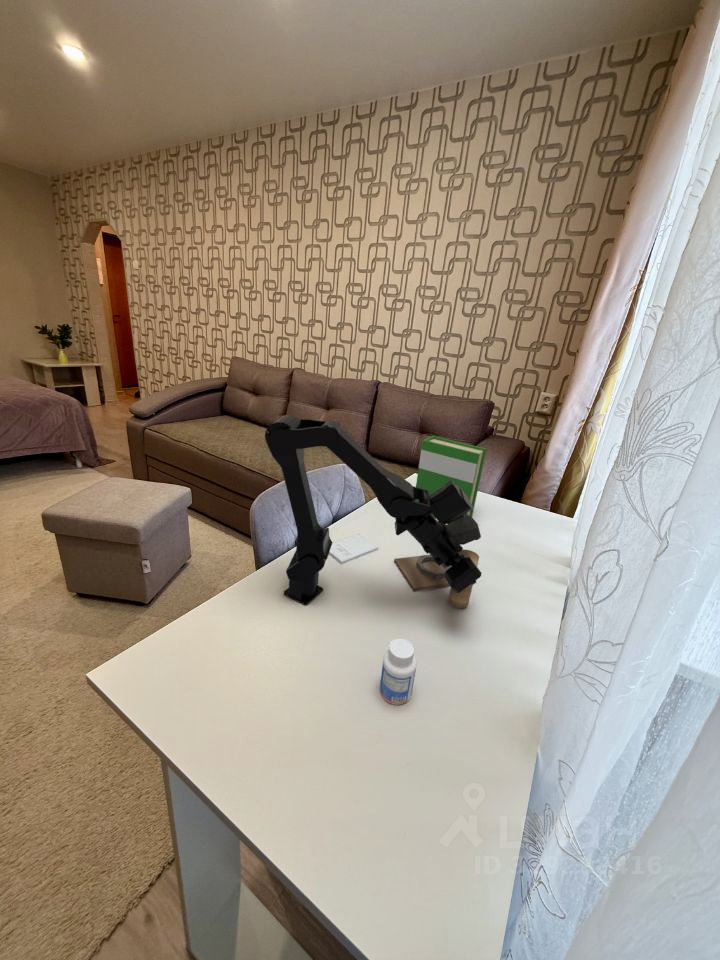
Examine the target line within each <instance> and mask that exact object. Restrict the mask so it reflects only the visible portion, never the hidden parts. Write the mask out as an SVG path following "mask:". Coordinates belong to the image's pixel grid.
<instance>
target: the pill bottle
mask: <svg viewBox="0 0 720 960" xmlns="http://www.w3.org/2000/svg"><path fill="white" fill-rule="evenodd" d="M417 664H418V663H417V659H416V657H415V648H414V645H413V644H412V642H410V641H409V640H407V639H404V638H395V639H393V640H392V641H391V642H390V643H389V646H388V649H387V651H386V652H385V653H384V655H383V659H382V665H381V666H382V668H381V676H380V684H379V689H380V690H379V691H380V695H381V696H382V697H383V699H384V700H386V702H388V703H390V704H392V705H403V704H405V703H407V702H408V701H410V699H411V697H412V694H413V689H414V682H415V677H416V670H417Z"/></svg>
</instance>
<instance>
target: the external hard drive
mask: <svg viewBox="0 0 720 960" xmlns="http://www.w3.org/2000/svg"><path fill="white" fill-rule="evenodd" d="M378 550H379V546H378V545H377V544H376V543H374V542H373V541H371V540H370V539H368V538H367V537H365V536H364V535H363V534H361V533H358V534H355V535H353V536H349V537H347V538H344V539H342V540H338V541H336V542H333V543H332V546H331V549H330V552H329V555H328V556H331V557H332V558H333V559H334V560H335V561H336V562H338V563H339V564H340V565H344V564H345V563H348V562H351V561H353V560H356V559H359V558H361V557H363V556H367V555H368V554H371V553H374V552H376V551H378Z"/></svg>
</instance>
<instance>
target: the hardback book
mask: <svg viewBox="0 0 720 960" xmlns="http://www.w3.org/2000/svg"><path fill="white" fill-rule="evenodd" d="M421 443H422V444H421V450H420V456H419V462H418V469H417V476H416V482H415V487H418V488H421V489H425V490H429V492H430V495H431V494H432V493H434V492H436V491H437V490H439V489H440V488H442V487H443V486H444V485H445V484H446V483H447V482H449V481H453V482H454V484H456V485H457V486H458V487H459V488H461V489H462V490H463V491H464V493H465V494H466V496H467V497H468V499H469V500H470V502H471V504H472V506H473V509H472V510H471V511H469V512H467V513H466V514H467V515H469V516H471V517H472V518H473V514H474V511H475V505H476V500H477V497H478V496H477V495H478V491H479V486H480V483H481V479H482V478H481V477H482V472H483V469H484V463H485V459H486V453H487V449H488V448H485V447H481V446H476V445H472V444H468V443H464V442H460V441H456V440H452V439H448V438H443V437H439V436H435V435H432V436H431V435H430V436H429V437H427V438H425V439H422V442H421ZM415 502H419V499H415ZM432 515H433V514H432ZM464 516H465V514H464ZM433 517H434V518H435V516H434V515H433ZM435 519H436V518H435Z"/></svg>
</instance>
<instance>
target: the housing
mask: <svg viewBox="0 0 720 960" xmlns="http://www.w3.org/2000/svg"><path fill="white" fill-rule="evenodd" d="M393 562H394V564H395V566H396V567H397V568H398V570H399V572H400V573H401V575H402V577H404V579H405V581H406V583H407V584H408V586H409V587H410V589H411V590H412V592H413V593H414V592H421V591H427V590H434V589H443V588H448V587H450V585H449V584H448V582H447V580H446V579H445V577H444V576H445V571H447V570H448V569H449V568H450V567H452V566H451V565H450V566H449V567H446V565H445V563H444V562H443V563H442V564H441V565H438V564H437V563H436V562H435V560H434V558H433V557H432V556H431V555H430V554H423V555H414V556H409V557H408V556H407V557H398V558H394V561H393ZM450 588H451V587H450Z"/></svg>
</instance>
